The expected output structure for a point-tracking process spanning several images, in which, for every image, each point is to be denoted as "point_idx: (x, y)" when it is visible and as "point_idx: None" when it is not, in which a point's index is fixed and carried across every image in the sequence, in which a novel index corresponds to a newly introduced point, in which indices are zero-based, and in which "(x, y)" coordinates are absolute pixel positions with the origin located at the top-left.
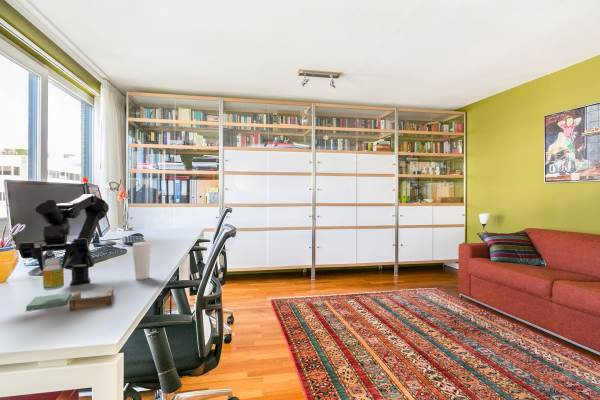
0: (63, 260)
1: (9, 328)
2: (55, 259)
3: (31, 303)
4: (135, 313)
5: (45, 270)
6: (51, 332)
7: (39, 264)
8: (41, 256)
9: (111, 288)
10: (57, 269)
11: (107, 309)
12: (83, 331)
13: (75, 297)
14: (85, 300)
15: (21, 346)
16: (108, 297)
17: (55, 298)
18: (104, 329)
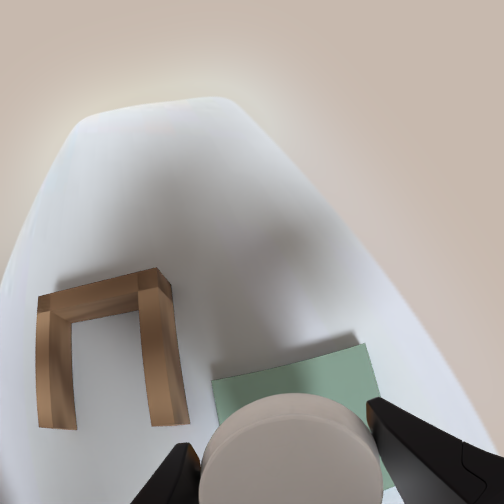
0: (166, 489)
1: (297, 178)
2: (235, 457)
3: (364, 381)
4: (26, 222)
5: (327, 398)
6: (174, 145)
7: (412, 417)
8: (455, 484)
9: (41, 410)
10: (226, 419)
11: (67, 268)
12: (115, 145)
13: (145, 320)
14: (107, 281)
15: (208, 104)
16: (47, 297)
17: None
18: (83, 151)
